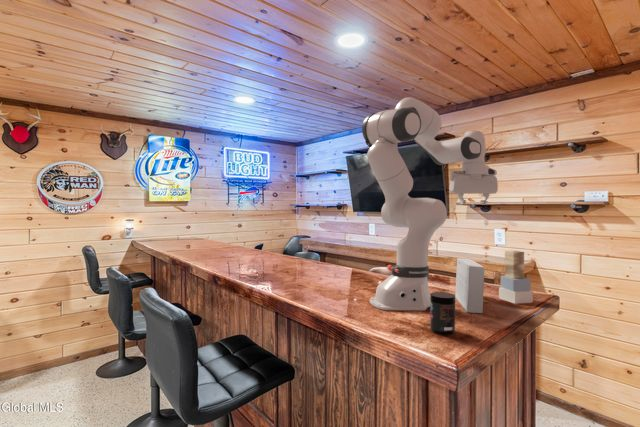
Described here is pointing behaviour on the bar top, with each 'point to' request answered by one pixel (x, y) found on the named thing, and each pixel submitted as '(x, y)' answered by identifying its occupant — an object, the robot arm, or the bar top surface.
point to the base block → (516, 296)
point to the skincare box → (470, 285)
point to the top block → (515, 284)
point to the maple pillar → (514, 264)
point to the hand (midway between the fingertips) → (473, 204)
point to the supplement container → (442, 313)
